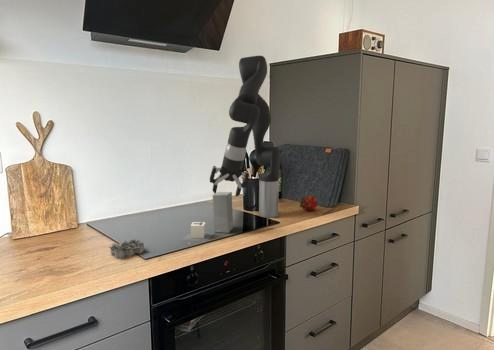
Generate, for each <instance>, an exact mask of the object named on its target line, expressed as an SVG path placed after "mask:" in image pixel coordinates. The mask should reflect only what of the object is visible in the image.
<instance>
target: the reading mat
mask: <svg viewBox="0 0 494 350" xmlns="http://www.w3.org/2000/svg"><path fill="white" fill-rule="evenodd" d="M214 234H215V232H205V237H204V238H191V231H189V233H187V234H186V235H185V236H184V237H183V238H182V239H181V240H183V241H196V242H197V241H198V242H207V241H208V240H209V239H210V238H211V237H212V236H213V235H214Z"/></svg>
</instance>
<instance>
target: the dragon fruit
mask: <svg viewBox="0 0 494 350" xmlns="http://www.w3.org/2000/svg"><path fill="white" fill-rule="evenodd" d="M299 205H300V208H302V209H303V210H304V211H305V212H308V211H312V212H313V211H315V210H316V208H317V207H318V205H319V203H318V199H317V197H315V196H314V195H305V196H302V197H301V198H300V201H299ZM306 210H307V211H306Z"/></svg>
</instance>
